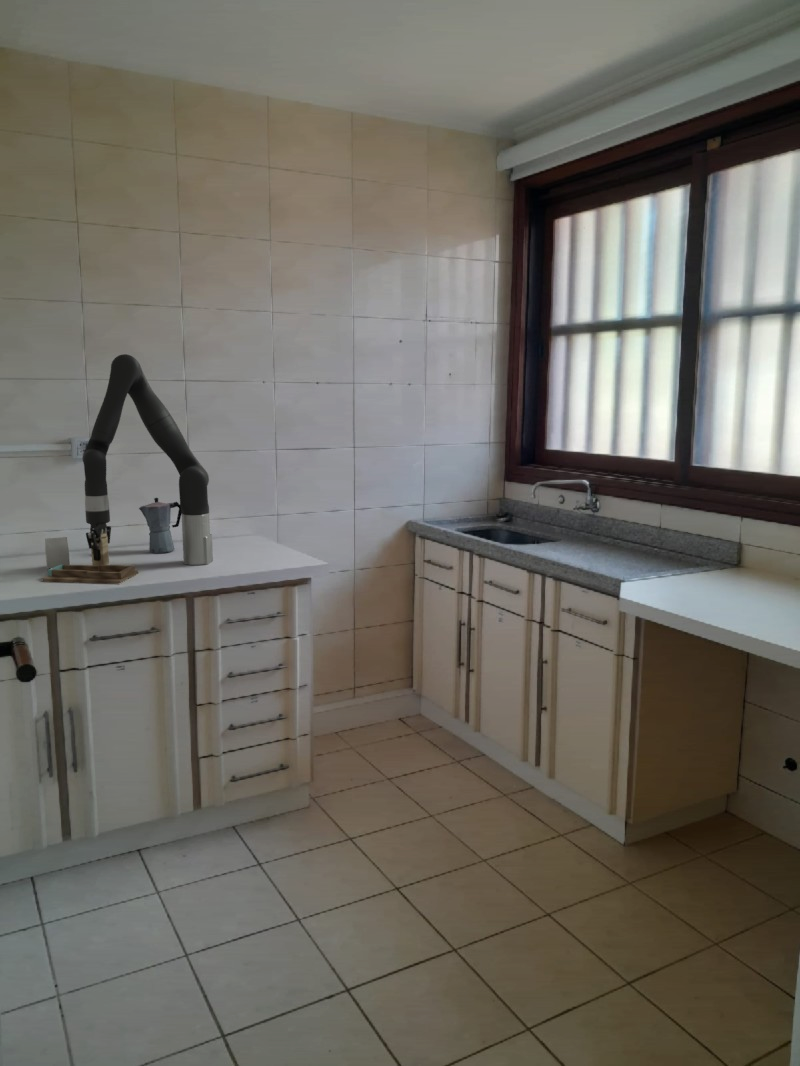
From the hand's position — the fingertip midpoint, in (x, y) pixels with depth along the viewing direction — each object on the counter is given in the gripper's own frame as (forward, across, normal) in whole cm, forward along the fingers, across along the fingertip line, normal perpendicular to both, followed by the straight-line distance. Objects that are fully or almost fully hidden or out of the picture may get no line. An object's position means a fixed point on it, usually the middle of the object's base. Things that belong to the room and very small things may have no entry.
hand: (100, 558), depth 270 cm
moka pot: (+3, +27, -11) cm, 29 cm away
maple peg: (+3, 0, 0) cm, 3 cm away
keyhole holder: (+3, -15, -4) cm, 16 cm away
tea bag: (+3, -2, +14) cm, 14 cm away
